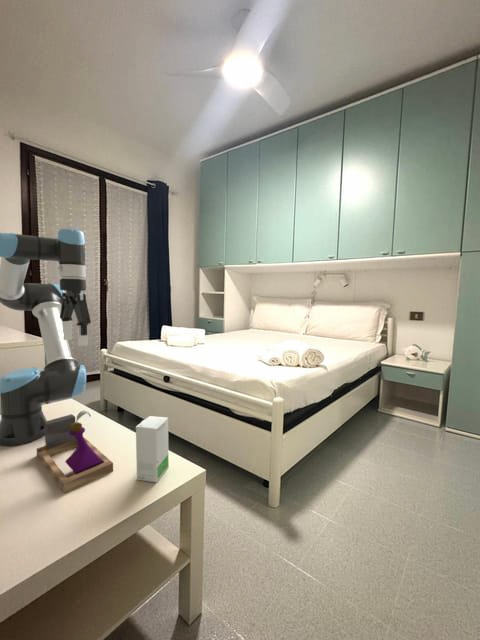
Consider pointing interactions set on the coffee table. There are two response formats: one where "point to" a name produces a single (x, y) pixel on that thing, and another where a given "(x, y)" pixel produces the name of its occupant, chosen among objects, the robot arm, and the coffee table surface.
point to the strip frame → (60, 442)
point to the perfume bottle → (81, 449)
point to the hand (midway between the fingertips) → (75, 342)
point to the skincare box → (152, 448)
